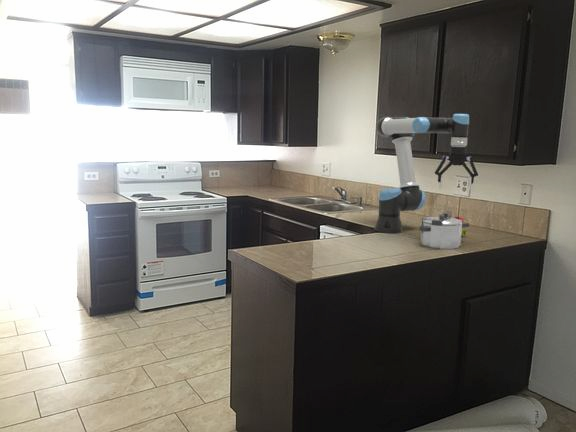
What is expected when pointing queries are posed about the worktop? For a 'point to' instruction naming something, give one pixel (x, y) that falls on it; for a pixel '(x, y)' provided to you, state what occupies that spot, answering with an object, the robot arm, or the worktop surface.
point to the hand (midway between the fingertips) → (454, 189)
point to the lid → (442, 219)
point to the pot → (441, 235)
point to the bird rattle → (462, 222)
